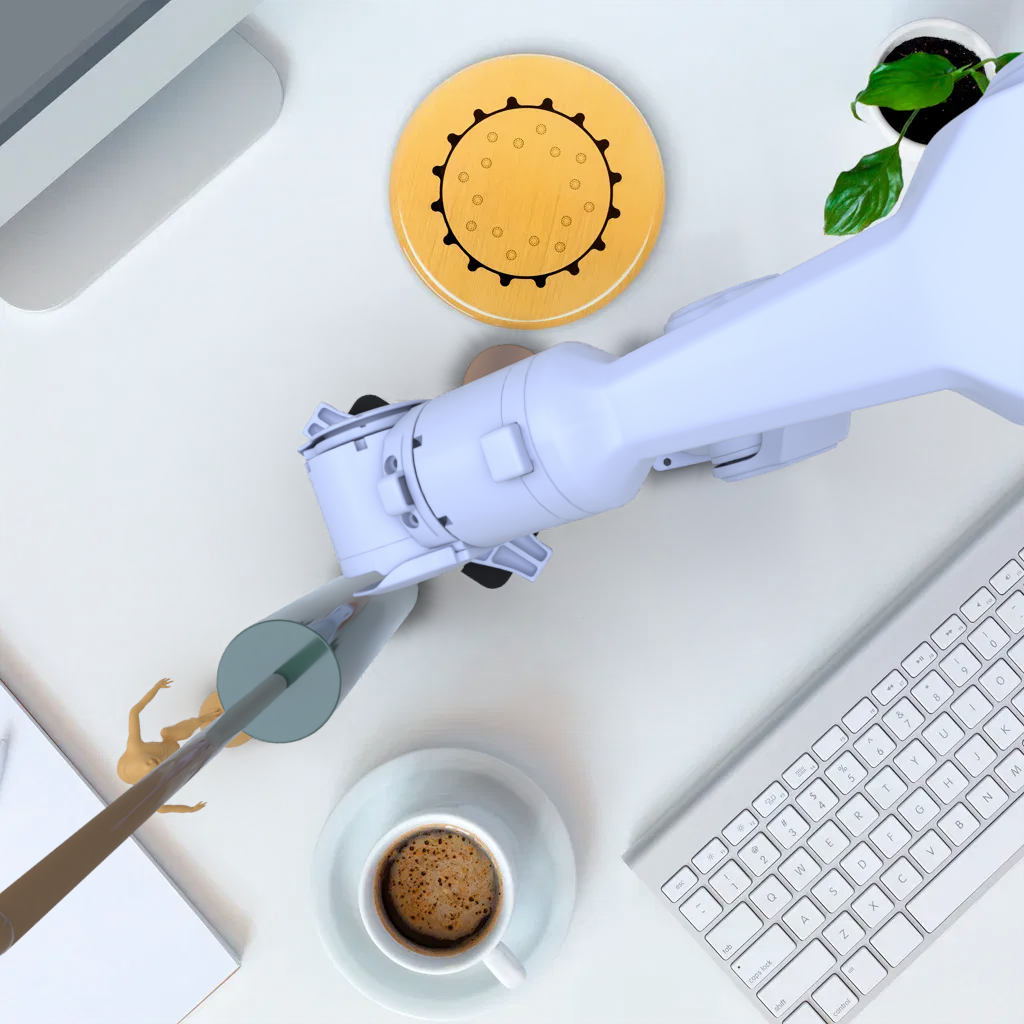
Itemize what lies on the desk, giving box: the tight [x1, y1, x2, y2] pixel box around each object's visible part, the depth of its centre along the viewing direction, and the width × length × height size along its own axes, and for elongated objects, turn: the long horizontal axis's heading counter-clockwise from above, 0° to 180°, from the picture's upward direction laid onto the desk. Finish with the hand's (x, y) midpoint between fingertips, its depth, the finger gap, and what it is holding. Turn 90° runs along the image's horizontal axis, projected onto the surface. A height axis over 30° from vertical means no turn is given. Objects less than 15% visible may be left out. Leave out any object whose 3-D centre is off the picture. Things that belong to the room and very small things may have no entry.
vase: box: [0, 571, 419, 957], centre depth 40 cm, size 5×5×50 cm
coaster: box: [462, 344, 536, 386], centre depth 64 cm, size 6×6×1 cm
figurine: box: [116, 677, 252, 814], centre depth 59 cm, size 8×6×12 cm
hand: (441, 490), depth 59 cm, fingers open, 7 cm apart
